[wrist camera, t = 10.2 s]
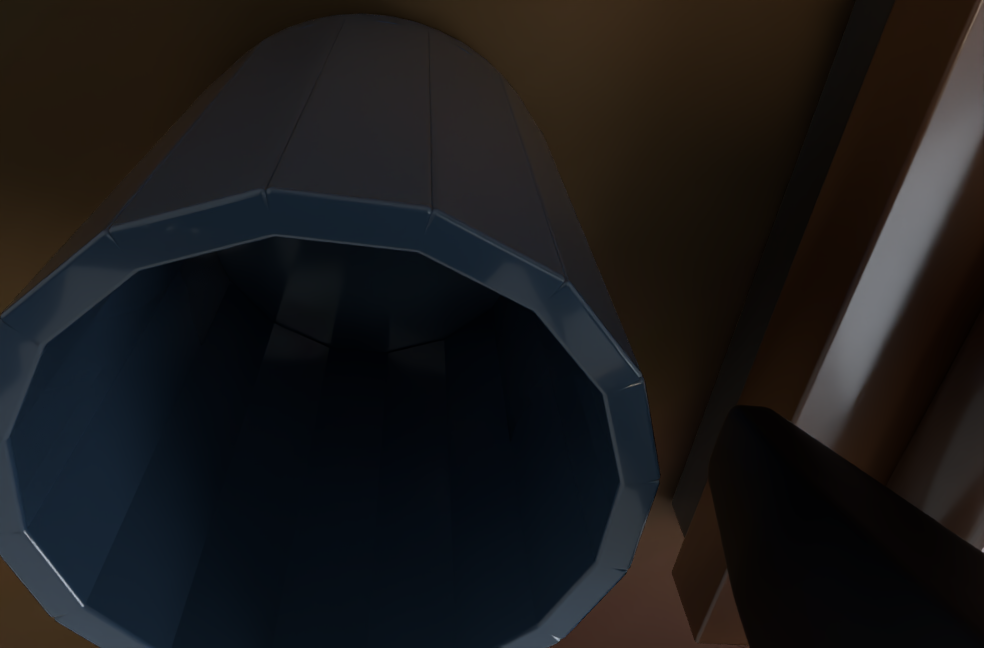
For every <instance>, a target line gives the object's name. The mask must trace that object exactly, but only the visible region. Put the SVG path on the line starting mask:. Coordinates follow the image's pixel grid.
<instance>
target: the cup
mask: <svg viewBox="0 0 984 648" xmlns="http://www.w3.org/2000/svg"><path fill="white" fill-rule="evenodd" d="M660 475H661V474H660V468H659V462H658V456H657V450H656V444H655V438H654V432H653V426H652V420H651V414H650V408H649V402H648V396H647V390H646V384H645V380H644V377H643V375H642V372H641V370H640V367H639V365H638V363H637V360H636V358H635V355H634V353H633V351H632V348H631V346H630V343H629V341H628V338H627V336H626V334H625V331H624V329H623V326H622V324H621V322H620V319H619V317H618V314H617V312H616V309H615V307H614V305H613V302H612V300H611V297H610V295H609V293H608V290H607V288H606V285H605V283H604V280H603V278H602V276H601V273H600V271H599V268H598V266H597V263H596V261H595V259H594V256H593V254H592V251H591V249H590V247H589V244H588V242H587V239H586V237H585V234H584V232H583V230H582V227H581V225H580V222H579V220H578V218H577V215H576V213H575V210H574V208H573V205H572V203H571V201H570V198H569V196H568V193H567V191H566V189H565V186H564V184H563V181H562V179H561V176H560V174H559V172H558V169H557V167H556V164H555V162H554V160H553V157H552V155H551V152H550V150H549V147H548V145H547V143H546V140H545V138H544V136H543V133H542V131H541V130H540V129H539V127H538V126H537V124H536V123H535V122H534V120H533V118H532V116H531V114H530V113H529V111H528V109H527V108H526V106H525V104H524V103H523V101H522V100H521V98H520V96H519V95H518V93H517V92H516V91H515V90H514V88H513V87H512V86H511V85H510V84H509V82H508V81H507V80H506V79H505V77H504V76H503V75H502V74H501V73H500V72H499V71H498V70H497V69H495V68H494V67H493V66H492V65H491V64H490V63H489V62H488V61H487V60H486V59H485V58H484V57H482V56H481V55H479V54H478V53H477V52H475V51H474V50H472V49H471V48H470V47H468V46H467V45H465V44H464V43H462V42H460V41H458V40H457V39H455V38H453V37H451V36H449V35H447V34H445V33H443V32H441V31H439V30H437V29H434V28H431V27H428V26H426V25H423V24H420V23H418V22H415V21H410V20H406V19H401V18H397V17H392V16H386V15H374V14H344V15H333V16H328V17H323V18H318V19H313V20H309V21H306V22H303V23H300V24H297V25H294V26H291V27H289V28H286V29H284V30H282V31H280V32H278V33H276V34H274V35H272V36H270V37H268V38H266V39H265V40H262V41H261V42H260V43H259V44H257V45H256V46H254V47H253V48H252V49H250V50H249V51H248V52H246V53H245V54H243V55H242V56H241V57H240V58H239V59H238V60H237V61H236V62H235V63H234V64H233V65H232V66H231V67H230V68H229V69H228V70H227V71H226V72H225V73H223V74H222V75H221V76H220V77H219V78H218V79H216V80H215V81H214V82H213V83H212V84H210V85H209V86H208V87H207V88H206V89H205V90H204V91H203V93H202V94H201V95H200V96H199V97H198V98H197V99H196V100H195V101H194V102H193V103H192V105H191V106H190V107H189V108H188V109H187V110H186V111H185V112H184V113H183V114H182V116H181V117H180V118H179V119H178V120H177V121H176V122H175V123H174V124H173V125H172V126H171V128H170V129H169V130H168V131H167V132H166V133H165V134H164V135H163V136H162V137H161V139H160V140H159V141H158V142H157V143H156V144H155V145H154V146H153V147H152V148H151V150H150V151H149V152H148V153H147V154H146V155H145V156H144V157H143V158H142V159H141V160H140V162H139V163H138V164H137V165H136V166H135V167H134V168H133V169H132V170H131V171H130V173H129V174H128V175H127V176H126V177H125V178H124V179H123V180H122V181H121V182H120V183H119V185H118V186H117V187H116V188H115V189H114V190H113V191H112V192H111V193H110V194H109V196H108V197H107V198H106V199H105V200H104V201H103V202H102V203H101V204H100V205H99V206H98V208H97V209H96V210H95V211H94V212H93V213H92V214H91V215H90V216H89V217H88V219H87V220H86V221H85V222H84V223H83V224H82V225H81V226H80V227H79V228H78V229H77V231H76V232H75V233H74V234H73V235H72V236H71V237H70V238H69V239H68V240H67V242H66V243H65V244H64V245H63V246H62V247H61V248H60V249H59V250H58V251H57V252H56V254H55V255H54V256H53V257H52V258H51V259H50V260H49V261H48V262H47V263H46V265H45V266H44V267H43V268H42V269H41V270H40V271H39V272H38V273H37V274H36V275H35V277H34V278H33V279H32V280H31V281H30V282H29V283H28V284H27V285H26V286H25V288H24V289H23V290H22V291H21V292H20V293H19V294H18V295H17V296H16V297H15V298H14V300H13V301H12V302H11V303H10V304H9V305H8V306H7V307H6V308H5V309H4V311H3V312H2V313H1V316H0V556H1V558H2V559H3V560H4V561H5V562H6V564H7V565H8V566H9V567H10V569H11V570H12V571H13V572H14V573H15V575H16V576H17V577H18V578H19V580H20V581H21V582H22V583H23V584H24V586H25V587H26V588H27V589H28V590H29V592H30V593H31V594H32V595H33V597H34V598H35V599H36V600H37V601H38V603H39V604H40V605H41V606H42V607H43V609H44V610H45V611H46V612H47V614H48V615H49V616H50V617H54V620H55V621H56V622H58V623H59V624H61V625H63V626H64V627H66V628H68V629H69V630H71V631H73V632H74V633H76V634H78V635H79V636H81V637H83V638H84V639H86V640H88V641H89V642H91V643H93V644H94V645H96V646H98V647H99V648H549V647H551V646H553V645H555V644H557V643H559V642H560V641H561V639H564V638H565V637H566V636H567V635H568V634H569V633H570V632H571V631H572V630H573V629H574V628H575V627H576V626H577V625H578V624H579V623H580V621H581V620H582V619H583V618H584V617H585V616H586V615H587V614H588V613H589V612H590V611H591V610H592V609H593V608H594V607H595V606H596V605H597V604H598V603H599V602H600V601H601V599H602V598H603V597H604V596H605V595H606V594H607V593H608V592H609V591H610V590H611V589H612V588H613V587H614V586H615V585H616V584H617V583H618V582H619V581H620V580H621V579H622V577H623V576H624V575H625V574H626V573H627V569H629V568H630V566H631V564H632V561H633V558H634V555H635V552H636V549H637V546H638V544H639V541H640V538H641V535H642V532H643V529H644V527H645V524H646V521H647V518H648V515H649V512H650V510H651V507H652V504H653V501H654V498H655V495H656V492H657V490H658V487H659V484H660V480H659V479H660Z"/></svg>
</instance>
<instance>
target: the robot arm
mask: <svg viewBox="0 0 984 648" xmlns="http://www.w3.org/2000/svg"><path fill="white" fill-rule="evenodd" d="M708 479H709V485H710V490H711V494H712V499H713V504H714V509H715V514H716V518H717V523H718V528H719V533H720V537H721V542H722V547H723V552H724V557H725V561H726V566H727V571H728V576H729V580H730V584H731V588H732V592H733V596H734V600H735V603H736V606H737V610H738V613H739V616H740V619H741V622H742V625H743V629H744V632H745V635H746V638H747V641H748V644H749V647H750V648H984V553H983V552H982V551H980V550H979V549H977V548H976V547H974V546H973V545H971V544H970V543H969V542H967V541H966V540H964V539H963V538H961V537H960V536H958V535H957V534H955V533H954V532H952V531H951V530H949V529H948V528H946V527H945V526H943V525H942V524H941V523H939V522H938V521H936V520H935V519H933V518H932V517H930V516H929V515H927V514H926V513H924V512H923V511H921V510H920V509H918V508H917V507H915V506H914V505H912V504H911V503H910V502H908V501H907V500H905V499H904V498H902V497H901V496H899V495H898V494H896V493H895V492H893V491H892V490H890V489H889V488H887V487H886V486H884V485H883V484H881V483H880V482H879V481H877V480H876V479H874V478H873V477H871V476H870V475H868V474H867V473H865V472H864V471H862V470H861V469H859V468H858V467H856V466H855V465H853V464H852V463H851V462H849V461H848V460H846V459H845V458H843V457H842V456H840V455H839V454H837V453H836V452H834V451H833V450H831V449H830V448H828V447H827V446H825V445H824V444H822V443H821V442H820V441H818V440H817V439H815V438H814V437H812V436H811V435H809V434H808V433H806V432H805V431H803V430H802V429H800V428H799V427H797V426H796V425H794V424H793V423H791V422H790V421H789V420H787V419H786V418H784V417H783V416H781V415H780V414H778V413H777V412H775V411H774V410H772V409H770V408H768V407H763V406H751V405H736V406H734V407H732V408H731V409H730V410H729V411H728V413H727V415H726V417H725V420H724V423H723V425H722V428H721V430H720V433H719V436H718V438H717V441H716V443H715V446H714V449H713V451H712V454H711V456H710V460H709V465H708Z"/></svg>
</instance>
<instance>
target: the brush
mask: <svg viewBox="0 0 984 648" xmlns="http://www.w3.org/2000/svg"><path fill="white" fill-rule="evenodd" d="M736 405H751V406H763V407H768V408H770V409H772V410H774V411H775V412H777V413H778V414H780V415H781V416H783V417H784V418H786V419H787V420H789V421H790V422H791V423H793V424H794V425H796V426H797V427H799V428H800V429H802V430H803V431H805V432H806V433H808V434H809V435H811V436H812V437H814V438H815V439H817V440H818V441H820V442H821V443H822V444H824V445H825V446H827V447H828V448H830V449H831V450H833V451H834V452H836V453H837V454H839V455H840V456H842V457H843V458H845V459H846V460H848V461H849V462H851V463H852V464H853V465H855V466H856V467H858V468H859V469H861V470H862V471H864V472H865V473H867V474H868V475H870V476H871V477H873V478H874V479H876V480H877V481H879V482H880V483H881V484H883V485H884V486H886V487H887V488H889V489H890V490H892V491H893V492H895V493H896V494H898V495H899V496H901V497H902V498H904V499H905V500H907V501H908V502H910V503H911V504H912V505H914V506H915V507H917V508H918V509H920V510H921V511H923V512H924V513H926V514H927V515H929V516H930V517H932V518H933V519H935V520H936V521H938V522H939V523H941V524H942V525H943V526H945V527H946V528H948V529H949V530H951V531H952V532H954V533H955V534H957V535H958V536H960V537H961V538H963V539H964V540H966V541H967V542H969V543H970V544H971V545H973V546H974V547H976V548H977V549H979V550H980V551H982V552H983V553H984V0H856V1H855V4H854V7H853V10H852V12H851V15H850V18H849V20H848V23H847V26H846V29H845V31H844V34H843V37H842V39H841V42H840V45H839V48H838V50H837V53H836V56H835V59H834V61H833V64H832V67H831V69H830V72H829V75H828V78H827V80H826V83H825V86H824V88H823V91H822V94H821V97H820V99H819V102H818V105H817V108H816V110H815V113H814V116H813V118H812V121H811V124H810V127H809V129H808V132H807V135H806V137H805V140H804V143H803V146H802V148H801V151H800V154H799V157H798V159H797V162H796V165H795V167H794V170H793V173H792V176H791V178H790V181H789V184H788V186H787V189H786V192H785V195H784V197H783V200H782V203H781V206H780V208H779V211H778V214H777V216H776V219H775V222H774V225H773V227H772V230H771V233H770V236H769V238H768V241H767V244H766V246H765V249H764V252H763V255H762V257H761V260H760V263H759V265H758V268H757V271H756V274H755V276H754V279H753V282H752V285H751V287H750V290H749V293H748V295H747V298H746V301H745V304H744V306H743V309H742V312H741V314H740V317H739V320H738V323H737V325H736V328H735V331H734V334H733V336H732V339H731V342H730V344H729V347H728V350H727V353H726V355H725V358H724V361H723V363H722V366H721V369H720V372H719V374H718V377H717V380H716V383H715V385H714V388H713V391H712V393H711V396H710V399H709V402H708V404H707V407H706V410H705V412H704V415H703V418H702V421H701V423H700V426H699V429H698V432H697V434H696V437H695V440H694V442H693V445H692V448H691V451H690V453H689V456H688V459H687V461H686V464H685V467H684V470H683V472H682V475H681V478H680V481H679V483H678V486H677V489H676V491H675V494H674V497H673V500H672V506H673V509H674V512H675V514H676V517H677V520H678V522H679V525H680V528H681V530H682V533H683V536H684V538H685V539H684V542H683V544H682V547H681V549H680V552H679V554H678V557H677V559H676V562H675V565H674V567H673V570H672V576H673V578H674V581H675V584H676V587H677V590H678V593H679V596H680V599H681V602H682V605H683V608H684V611H685V614H686V617H687V620H688V623H689V625H690V628H691V631H692V634H693V637H694V640H695V642H697V643H707V644H730V645H749V644H748V641H747V638H746V635H745V632H744V629H743V625H742V622H741V619H740V616H739V613H738V610H737V606H736V603H735V600H734V596H733V592H732V588H731V584H730V580H729V576H728V571H727V566H726V561H725V557H724V552H723V547H722V542H721V537H720V533H719V528H718V523H717V518H716V514H715V509H714V504H713V499H712V494H711V490H710V485H709V479H708V465H709V460H710V456H711V454H712V451H713V449H714V446H715V443H716V441H717V438H718V436H719V433H720V430H721V428H722V425H723V423H724V420H725V417H726V415H727V413H728V411H729V410H730V409H731V408H732V407H734V406H736Z"/></svg>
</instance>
